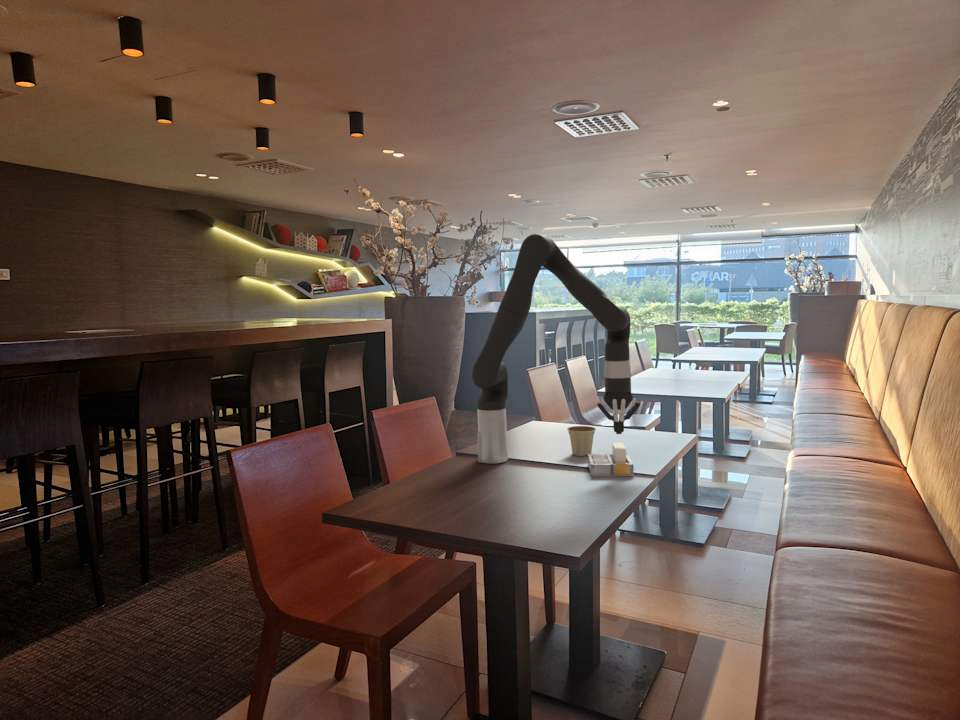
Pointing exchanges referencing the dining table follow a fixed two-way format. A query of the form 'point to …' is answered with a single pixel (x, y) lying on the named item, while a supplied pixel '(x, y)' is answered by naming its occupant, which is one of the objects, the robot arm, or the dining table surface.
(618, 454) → the panel
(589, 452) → the flower pot
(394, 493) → the dining table surface
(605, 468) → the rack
